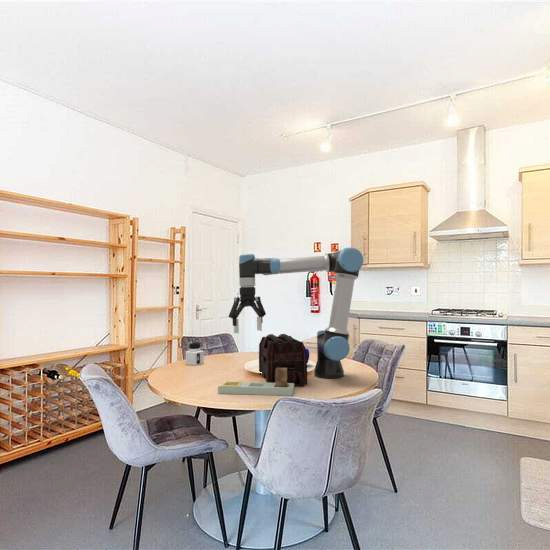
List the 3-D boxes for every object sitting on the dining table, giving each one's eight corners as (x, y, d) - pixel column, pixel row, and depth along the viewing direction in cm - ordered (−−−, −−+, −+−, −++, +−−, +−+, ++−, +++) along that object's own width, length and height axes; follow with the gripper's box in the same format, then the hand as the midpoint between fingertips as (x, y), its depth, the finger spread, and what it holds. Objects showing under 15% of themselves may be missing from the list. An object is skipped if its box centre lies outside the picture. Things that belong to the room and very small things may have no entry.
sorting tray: (294, 390, 174) (294, 382, 174) (292, 395, 165) (292, 387, 165) (223, 388, 178) (223, 381, 179) (217, 393, 170) (217, 385, 170)
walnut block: (287, 388, 172) (287, 367, 172) (286, 391, 168) (285, 369, 168) (277, 388, 173) (276, 367, 173) (275, 390, 168) (275, 369, 169)
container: (203, 363, 238) (203, 341, 238) (194, 365, 231) (194, 343, 232) (194, 362, 242) (194, 341, 242) (185, 364, 235) (185, 342, 236)
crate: (309, 386, 181) (309, 340, 181) (269, 388, 177) (269, 342, 178) (292, 370, 215) (291, 332, 216) (257, 372, 211) (257, 333, 212)
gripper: (262, 286, 198) (263, 328, 198) (220, 287, 182) (221, 333, 181) (272, 286, 193) (273, 330, 192) (230, 287, 176) (230, 334, 176)
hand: (248, 331), depth 187 cm, fingers open, 13 cm apart
